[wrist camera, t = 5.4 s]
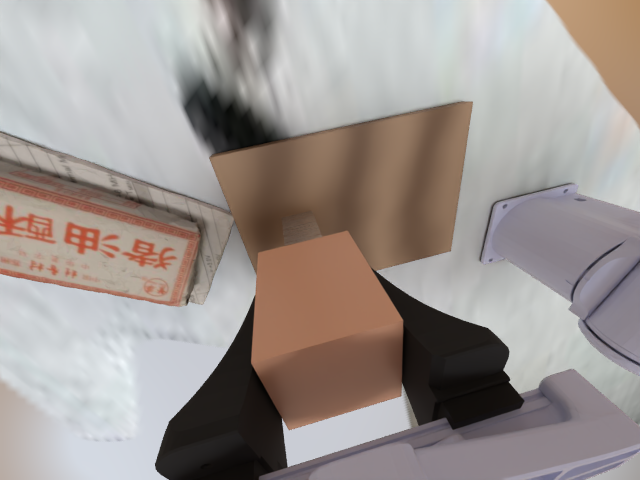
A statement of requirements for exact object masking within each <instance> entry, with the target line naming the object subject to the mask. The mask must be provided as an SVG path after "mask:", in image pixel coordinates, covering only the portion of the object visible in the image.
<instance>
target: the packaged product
mask: <svg viewBox="0 0 640 480" xmlns="http://www.w3.org/2000/svg"><path fill="white" fill-rule="evenodd" d="M233 221H234V218H233V216H232V213H231V212H229V211H226V210H223V209H221V208H218V207H215V206H212V205H209V204H206V203H203V202H200V201H197V200H194V199H191V198H188V197H185V196H182V195H178V194H175V193H172V192H169V191H166V190H163V189H160V188H158V187H155V186H152V185H150V184H147V183H144V182H141V181H139V180H136V179H133V178H130V177H128V176H125V175H122V174H119V173H116V172H113V171H111V170H108V169H106V168H103V167H101V166H99V165H96V164H94V163H91V162H89V161H86V160H82V159H79V158H76V157H74V156H71V155H67V154H63V153H60V152H56V151H52V150H49V149H45V148H41V147H39V146H36V145H33V144H31V143H28V142H25V141H22V140H20V139H17V138H14V137H12V136H9V135H6V134H3V133H1V132H0V274H3V275H7V276H12V277H16V278H24V279H28V280H33V281H38V282H44V283H52V284H57V285H60V286H65V287H71V288H78V289H83V290H88V291H94V292H102V293H108V294H112V295H116V296H122V297H128V298H132V299H137V300H146V301H150V302H153V303H157V304H165V305H168V306H177V307H181V306H186V305H187V304H188V302H192V303H196V304H200V305H202V304H204V302H205V299H206V297H207V295H208V292H209V290H210V287H211V284H212V280H213V277H214V274H215V272H216V269H217V267H218V265H219V262H220V260H221V257H222V255H223V252H224V249H225V246H226V244H227V241H228V238H229V235H230V232H231V228H232V224H233Z"/></svg>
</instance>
